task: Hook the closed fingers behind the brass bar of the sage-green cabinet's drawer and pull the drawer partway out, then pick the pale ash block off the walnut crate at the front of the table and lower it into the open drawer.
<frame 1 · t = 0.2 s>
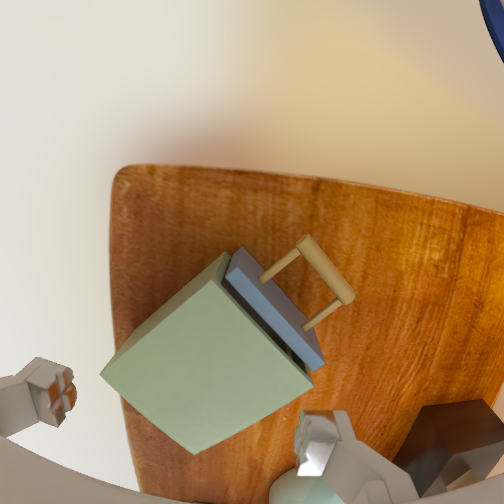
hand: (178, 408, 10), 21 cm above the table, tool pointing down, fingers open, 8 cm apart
drawer: (248, 327, 27), point 5 cm above the table, slide at 0.5 cm
planter: (321, 488, 38), on the table
crate: (435, 438, 36), on the table
block: (461, 481, 26), point 10 cm above the table, touching crate
cabinet: (214, 334, 32), on the table
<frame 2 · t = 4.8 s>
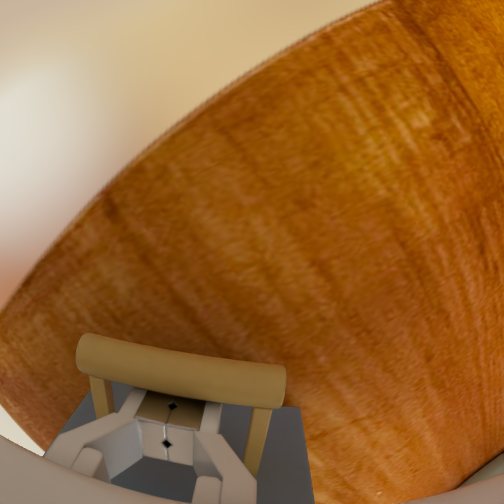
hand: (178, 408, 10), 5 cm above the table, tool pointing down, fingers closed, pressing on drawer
drawer: (183, 490, 12), point 5 cm above the table, slide at 0.6 cm, touching gripper
planter: (488, 490, 19), on the table
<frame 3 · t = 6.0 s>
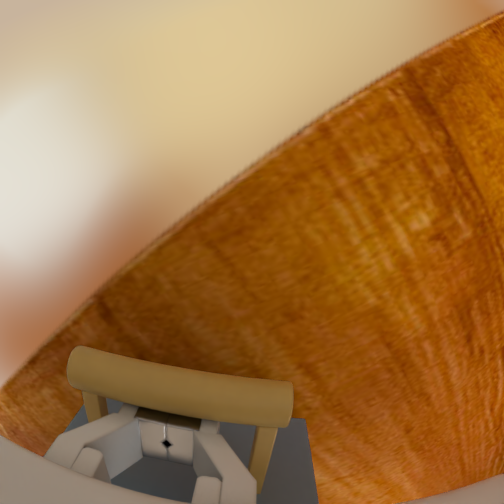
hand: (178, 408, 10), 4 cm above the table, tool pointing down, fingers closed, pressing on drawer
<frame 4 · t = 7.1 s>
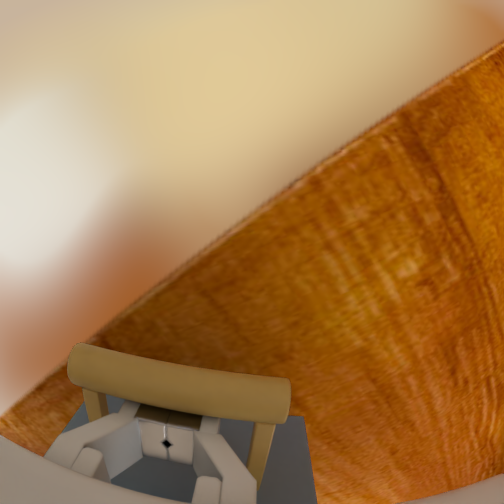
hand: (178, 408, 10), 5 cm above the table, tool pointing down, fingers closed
drawer: (182, 501, 11), point 5 cm above the table, slide at 7.5 cm, touching gripper
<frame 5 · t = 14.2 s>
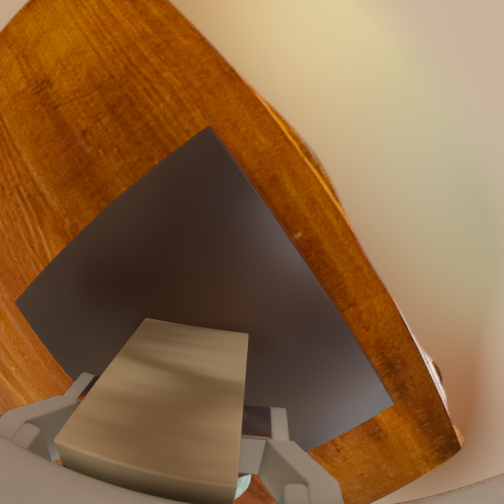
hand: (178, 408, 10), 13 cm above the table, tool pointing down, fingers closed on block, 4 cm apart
crate: (221, 289, 22), on the table
block: (193, 369, 12), point 10 cm above the table, touching crate, gripper
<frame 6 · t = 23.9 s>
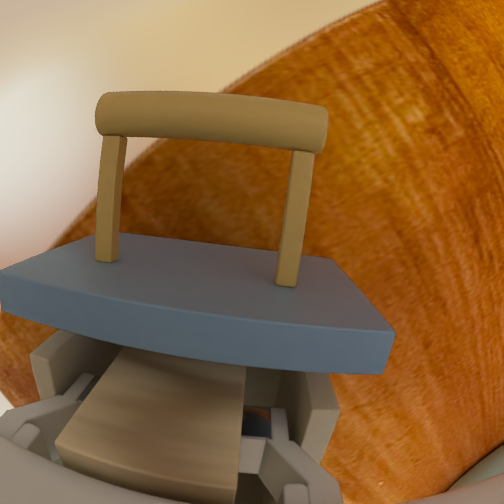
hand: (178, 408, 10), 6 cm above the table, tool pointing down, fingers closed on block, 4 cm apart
drawer: (190, 361, 11), point 5 cm above the table, slide at 7.7 cm
planter: (489, 483, 20), on the table
block: (193, 370, 12), point 4 cm above the table, touching gripper
when the fingers open (8 cm above the table, at t = 34.3 s): block drops 4 cm, resting on drawer.
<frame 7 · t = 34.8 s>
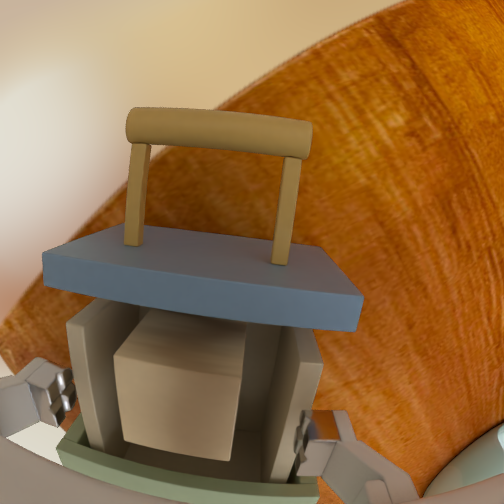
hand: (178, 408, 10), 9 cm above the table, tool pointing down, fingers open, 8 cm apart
drawer: (200, 331, 13), point 5 cm above the table, slide at 7.6 cm, touching block
planter: (481, 470, 22), on the table
block: (205, 327, 16), point 2 cm above the table, touching drawer
cabinet: (203, 442, 20), on the table
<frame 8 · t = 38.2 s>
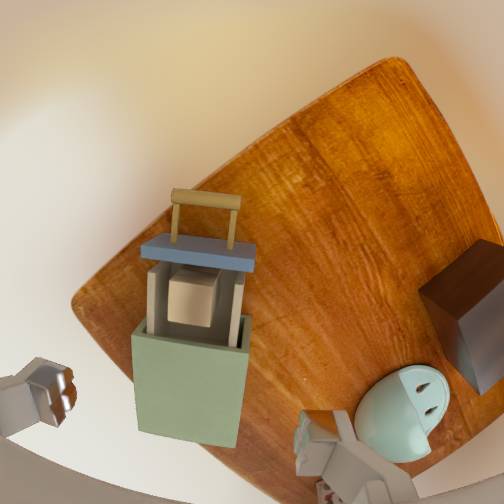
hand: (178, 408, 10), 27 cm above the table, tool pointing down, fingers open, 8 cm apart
drawer: (199, 279, 32), point 5 cm above the table, slide at 7.6 cm, touching block
decorative jar: (355, 480, 45), on the table
planter: (402, 410, 41), on the table
crate: (466, 302, 37), on the table
block: (202, 281, 35), point 2 cm above the table, touching drawer
cabinet: (200, 356, 39), on the table
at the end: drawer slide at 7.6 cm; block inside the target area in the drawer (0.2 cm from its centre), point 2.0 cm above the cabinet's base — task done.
